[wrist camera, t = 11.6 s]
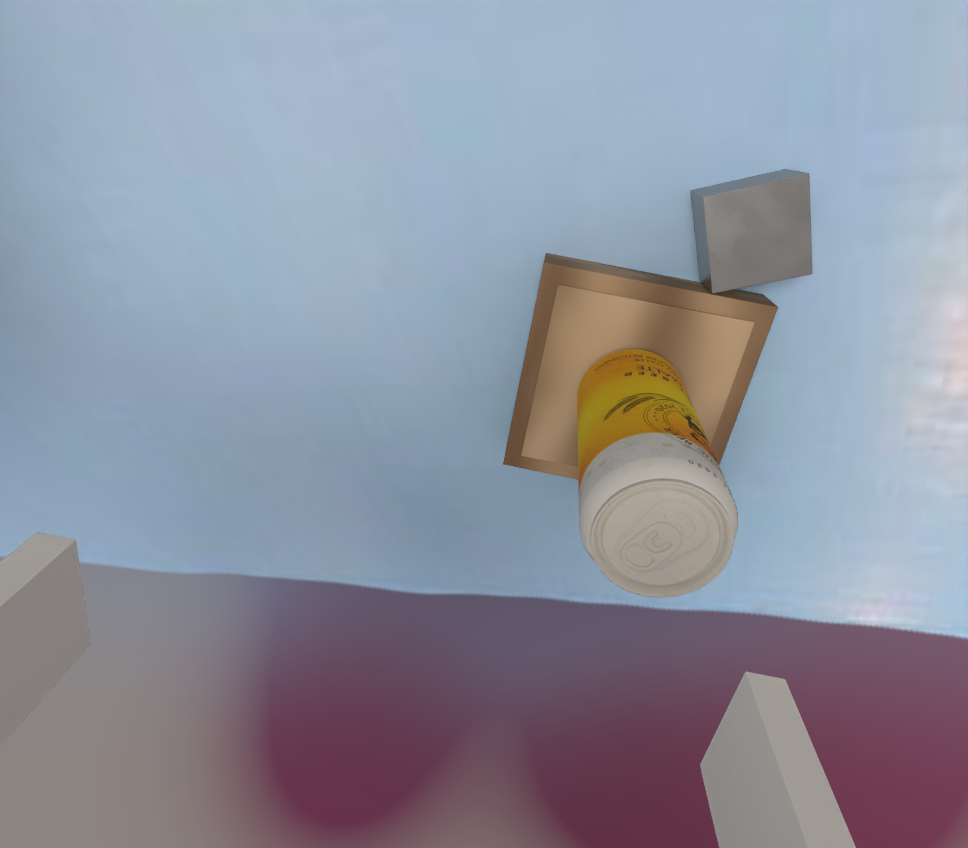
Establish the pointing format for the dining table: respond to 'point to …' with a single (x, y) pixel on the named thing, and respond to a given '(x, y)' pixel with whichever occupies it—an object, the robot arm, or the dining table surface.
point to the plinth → (630, 325)
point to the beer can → (649, 479)
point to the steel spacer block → (753, 230)
